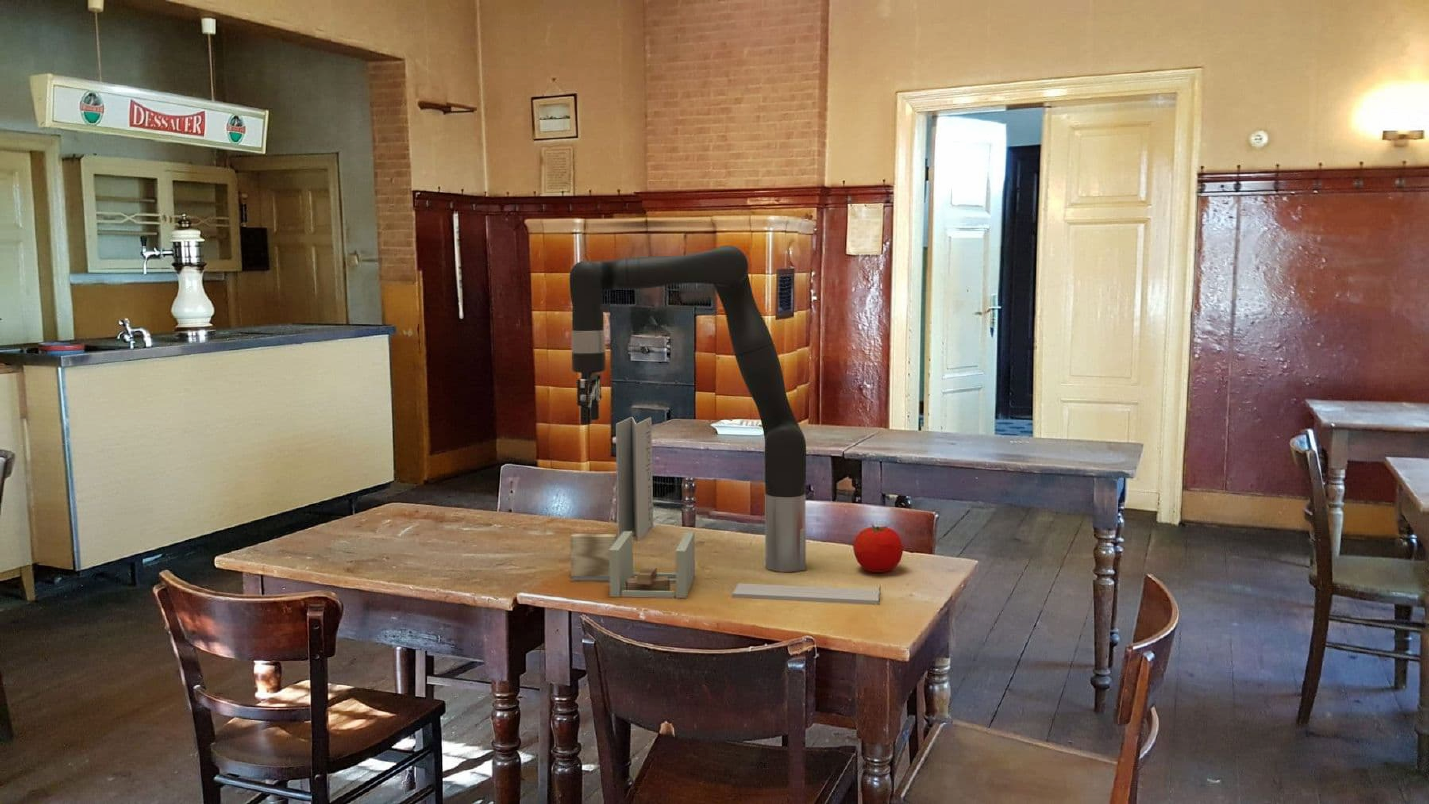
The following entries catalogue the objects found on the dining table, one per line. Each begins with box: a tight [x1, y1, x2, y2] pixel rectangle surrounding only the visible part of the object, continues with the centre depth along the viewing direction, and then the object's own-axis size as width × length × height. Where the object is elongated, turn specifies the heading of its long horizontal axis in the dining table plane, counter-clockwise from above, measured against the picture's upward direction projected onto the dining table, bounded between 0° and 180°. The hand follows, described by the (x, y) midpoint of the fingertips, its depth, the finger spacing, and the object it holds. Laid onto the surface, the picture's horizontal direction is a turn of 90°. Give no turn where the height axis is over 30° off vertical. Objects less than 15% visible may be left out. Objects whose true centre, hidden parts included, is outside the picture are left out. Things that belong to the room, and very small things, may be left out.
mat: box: [570, 576, 610, 583], centre depth 233 cm, size 10×9×1 cm
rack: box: [609, 530, 696, 599], centre depth 224 cm, size 16×16×10 cm
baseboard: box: [732, 583, 882, 606], centre depth 218 cm, size 30×3×10 cm
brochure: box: [615, 416, 654, 541], centre depth 271 cm, size 14×6×30 cm, turn 168°
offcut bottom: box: [625, 576, 671, 591], centre depth 221 cm, size 9×3×3 cm, turn 104°
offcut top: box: [636, 566, 658, 584], centre depth 220 cm, size 6×3×2 cm, turn 170°
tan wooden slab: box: [569, 533, 618, 577], centre depth 232 cm, size 10×2×9 cm, turn 85°
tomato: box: [852, 523, 904, 573], centre depth 235 cm, size 11×13×10 cm
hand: (590, 422), depth 235 cm, fingers open, 8 cm apart
